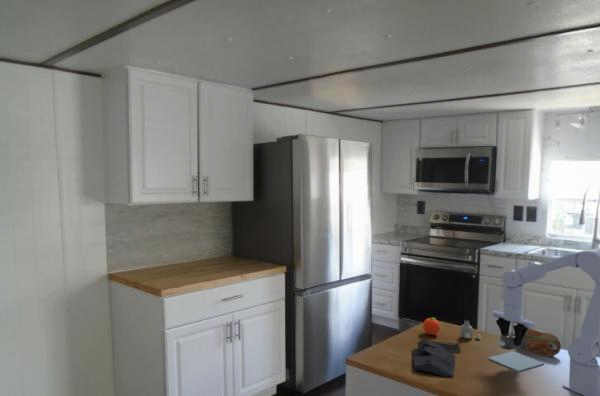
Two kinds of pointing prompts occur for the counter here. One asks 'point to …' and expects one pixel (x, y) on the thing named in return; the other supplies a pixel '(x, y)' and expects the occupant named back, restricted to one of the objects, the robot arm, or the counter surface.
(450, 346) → the phone
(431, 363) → the dark slate chunk
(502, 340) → the connector
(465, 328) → the reed diffuser
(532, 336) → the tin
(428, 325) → the clementine
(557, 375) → the counter surface
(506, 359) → the rubber mat
